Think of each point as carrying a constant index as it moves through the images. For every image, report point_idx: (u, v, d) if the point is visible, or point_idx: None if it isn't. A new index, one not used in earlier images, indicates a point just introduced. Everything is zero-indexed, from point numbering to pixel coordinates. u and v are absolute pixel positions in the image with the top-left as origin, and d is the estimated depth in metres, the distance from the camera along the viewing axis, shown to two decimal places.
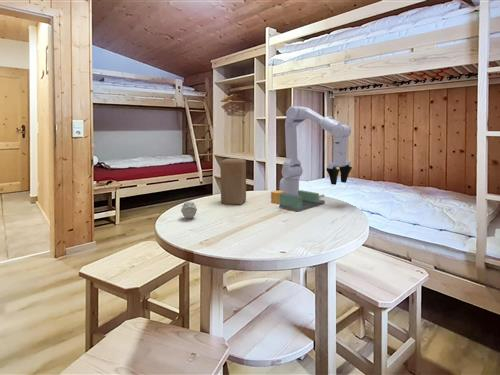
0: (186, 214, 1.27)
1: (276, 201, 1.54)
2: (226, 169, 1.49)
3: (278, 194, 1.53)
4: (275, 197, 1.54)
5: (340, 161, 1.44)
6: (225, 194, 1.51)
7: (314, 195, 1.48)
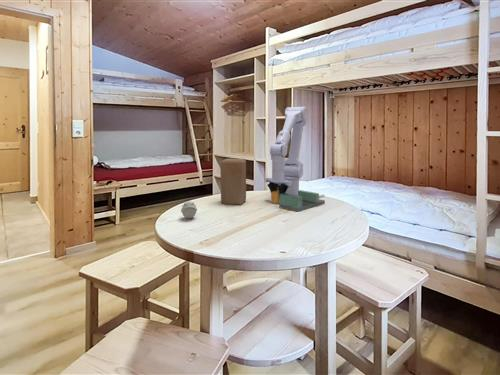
0: (186, 214, 1.27)
1: (276, 201, 1.54)
2: (226, 169, 1.49)
3: (278, 194, 1.53)
4: (275, 197, 1.54)
5: (272, 177, 1.55)
6: (225, 194, 1.51)
7: (314, 195, 1.48)
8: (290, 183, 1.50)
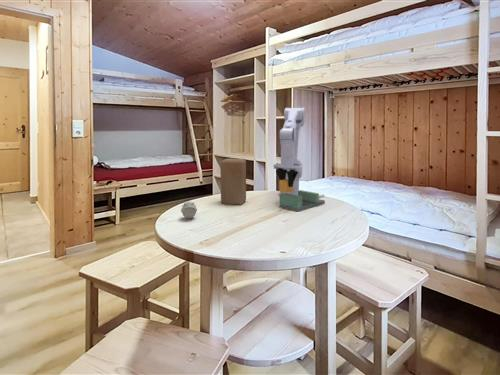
0: (186, 214, 1.27)
1: (284, 189, 1.48)
2: (226, 169, 1.49)
3: (287, 182, 1.47)
4: (283, 185, 1.48)
5: None
6: (225, 194, 1.51)
7: (314, 195, 1.48)
8: (300, 169, 1.44)
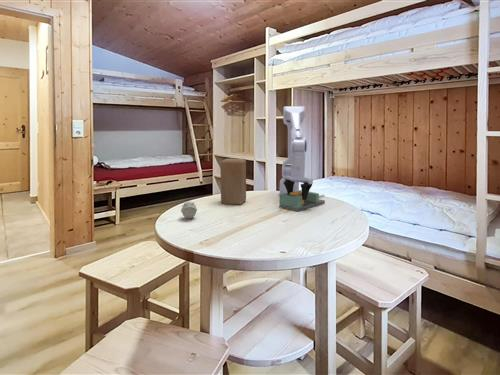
0: (186, 214, 1.27)
1: None
2: (226, 169, 1.49)
3: (297, 195, 1.43)
4: None
5: (291, 175, 1.45)
6: (225, 194, 1.51)
7: (314, 195, 1.48)
8: (311, 181, 1.40)
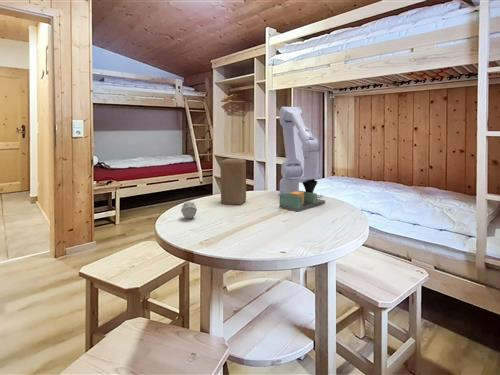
0: (186, 214, 1.27)
1: None
2: (226, 169, 1.49)
3: (297, 195, 1.43)
4: None
5: (310, 175, 1.48)
6: (225, 194, 1.51)
7: (312, 195, 1.47)
8: None
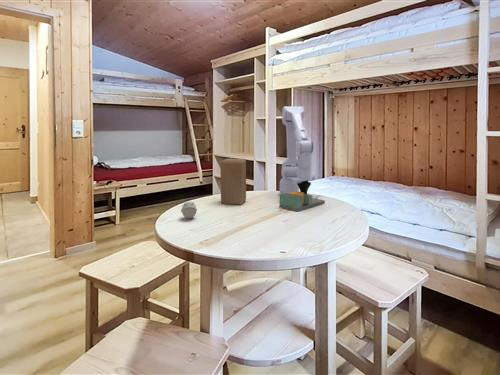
0: (186, 214, 1.27)
1: None
2: (226, 169, 1.49)
3: (297, 195, 1.43)
4: None
5: (304, 177, 1.45)
6: (225, 194, 1.51)
7: (307, 197, 1.45)
8: None
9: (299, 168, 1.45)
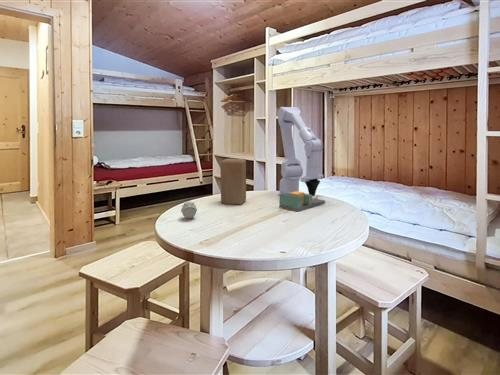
0: (186, 214, 1.27)
1: None
2: (226, 169, 1.49)
3: (297, 195, 1.43)
4: None
5: (313, 175, 1.49)
6: (225, 194, 1.51)
7: (307, 197, 1.45)
8: None
9: (308, 166, 1.50)
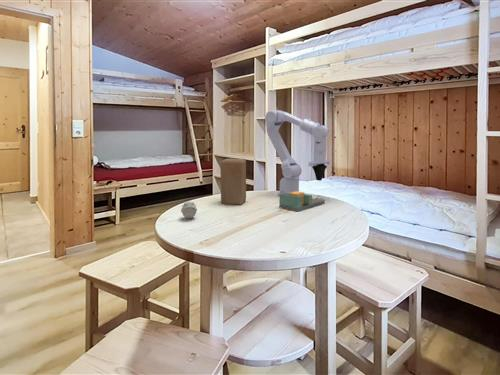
0: (186, 214, 1.27)
1: None
2: (226, 169, 1.49)
3: (297, 195, 1.43)
4: None
5: (320, 160, 1.55)
6: (225, 194, 1.51)
7: (307, 197, 1.45)
8: None
9: (315, 152, 1.56)
